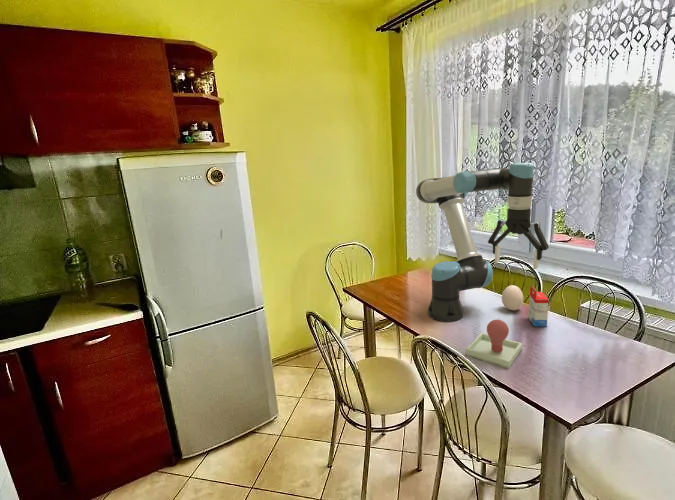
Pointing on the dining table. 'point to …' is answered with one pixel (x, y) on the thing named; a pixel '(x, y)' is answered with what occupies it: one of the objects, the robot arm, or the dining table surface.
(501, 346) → the light bulb
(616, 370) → the dining table surface
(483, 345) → the tray
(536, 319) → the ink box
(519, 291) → the egg
